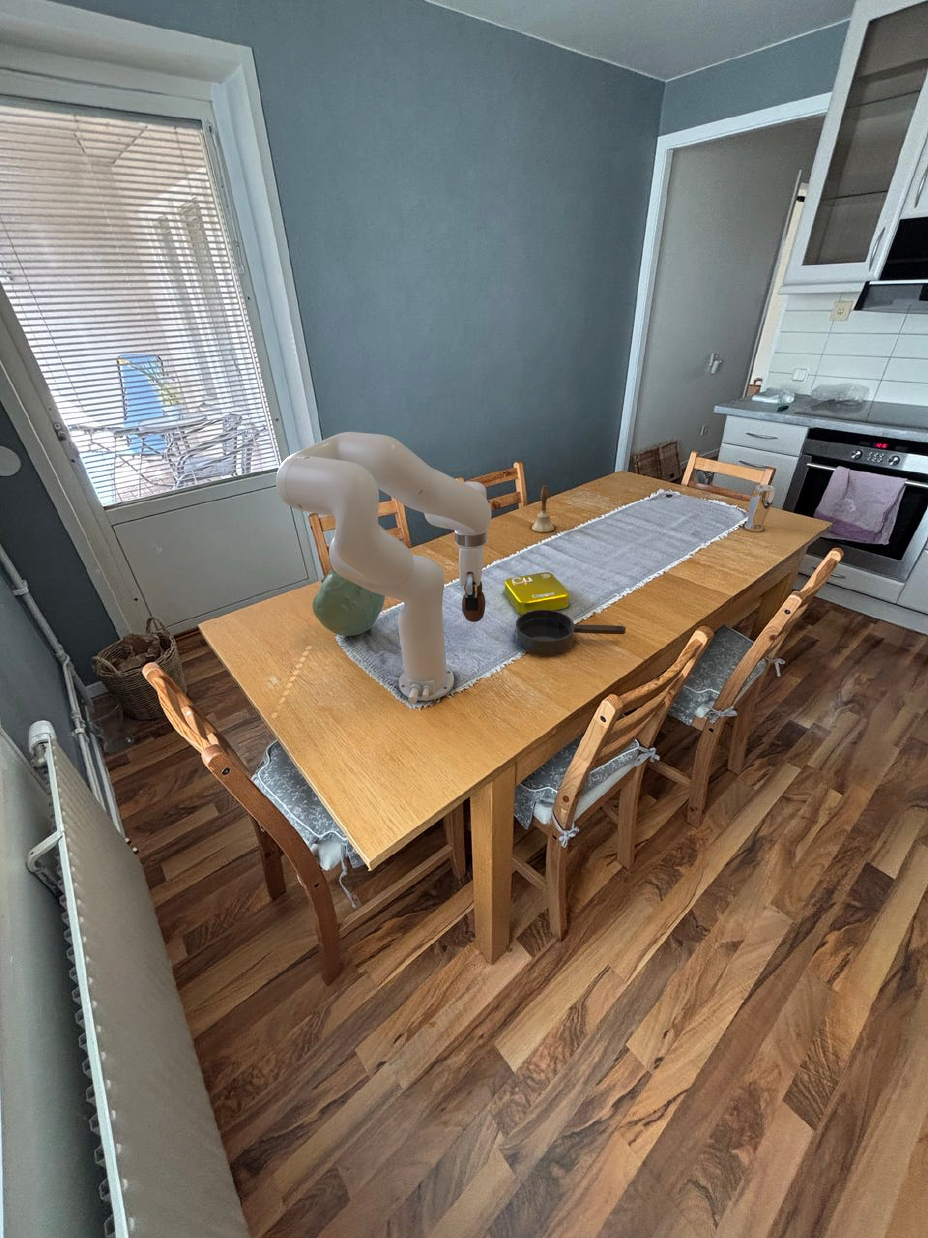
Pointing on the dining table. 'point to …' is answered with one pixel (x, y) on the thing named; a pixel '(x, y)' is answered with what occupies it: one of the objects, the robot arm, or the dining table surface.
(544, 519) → the hand bell
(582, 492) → the dining table surface
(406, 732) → the dining table surface
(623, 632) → the pan handle
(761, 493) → the beer glass
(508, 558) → the dining table surface
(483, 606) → the wooden figurine
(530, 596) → the element tile
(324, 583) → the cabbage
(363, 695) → the dining table surface
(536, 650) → the pan
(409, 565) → the robot arm
